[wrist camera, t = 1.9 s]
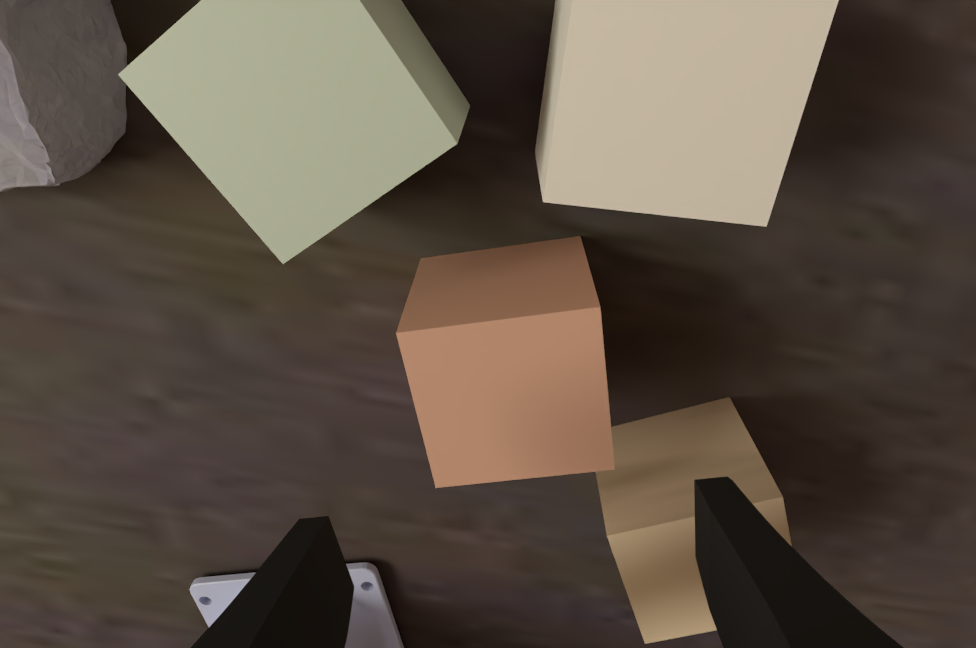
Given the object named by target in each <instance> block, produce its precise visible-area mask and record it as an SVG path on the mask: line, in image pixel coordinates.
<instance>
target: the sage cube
mask: <svg viewBox="0 0 976 648" xmlns="http://www.w3.org/2000/svg"><path fill="white" fill-rule="evenodd" d="M118 75H119V76H120V78H121V79H122V80H123V81H124V82H125V83H126V84H127V86H128V87H129V88H130V89H131V90H132V91H133V92H134V94H135V95H136V96H137V97H138V98H139V99H140V101H141V102H142V103H143V104H144V105H145V106H146V107H147V109H148V110H149V111H150V112H151V113H152V114H153V115H154V117H155V118H156V119H157V120H158V121H159V122H160V123H161V125H162V126H163V127H164V128H165V129H166V130H167V131H168V133H169V134H170V135H171V136H172V137H173V138H174V140H175V141H176V142H177V143H178V144H179V145H180V146H181V148H182V149H183V150H184V151H185V152H186V153H187V154H188V156H189V157H190V158H191V159H192V160H193V161H194V162H195V164H196V165H197V166H198V167H199V168H200V169H201V170H202V172H203V173H204V174H205V175H206V176H207V177H208V179H209V180H210V181H211V182H212V183H213V184H214V185H215V187H216V188H217V189H218V190H219V191H220V192H221V193H222V195H223V196H224V197H225V198H226V199H227V200H228V201H229V203H230V204H231V205H232V206H233V207H234V208H235V209H236V211H237V212H238V213H239V214H240V215H241V216H242V218H243V219H244V220H245V221H246V222H247V223H248V224H249V226H250V227H251V228H252V229H253V230H254V231H255V232H256V234H257V235H258V236H259V237H260V238H261V239H262V240H263V242H264V243H265V244H266V245H267V246H268V247H269V248H270V250H271V251H272V252H273V253H274V254H275V255H276V256H277V258H278V259H279V260H280V261H281V262H282V263H283V264H284V263H285V262H287V261H288V260H290V259H291V258H293V257H294V256H295V255H297V254H298V253H300V252H301V251H303V250H304V249H306V248H307V247H308V246H310V245H311V244H313V243H314V242H316V241H317V240H319V239H320V238H322V237H323V236H324V235H326V234H327V233H329V232H330V231H332V230H333V229H335V228H336V227H337V226H339V225H340V224H342V223H343V222H345V221H346V220H348V219H349V218H351V217H352V216H353V215H355V214H356V213H358V212H359V211H361V210H362V209H364V208H365V207H366V206H368V205H369V204H371V203H372V202H374V201H375V200H377V199H378V198H379V197H381V196H382V195H384V194H385V193H387V192H388V191H390V190H391V189H393V188H394V187H395V186H397V185H398V184H400V183H401V182H403V181H404V180H406V179H407V178H408V177H410V176H411V175H413V174H414V173H416V172H417V171H419V170H420V169H421V168H423V167H424V166H426V165H427V164H429V163H430V162H432V161H433V160H435V159H436V158H437V157H439V156H440V155H442V154H443V153H445V152H446V151H448V150H449V149H450V148H452V147H453V146H455V145H456V144H458V141H459V138H460V135H461V132H462V129H463V126H464V123H465V120H466V117H467V114H468V111H469V108H470V104H469V103H468V101H467V100H466V98H465V97H464V95H463V94H462V92H461V91H460V89H459V88H458V86H457V84H456V83H455V81H454V80H453V78H452V77H451V75H450V74H449V72H448V71H447V69H446V68H445V66H444V65H443V63H442V62H441V60H440V59H439V57H438V55H437V54H436V52H435V51H434V49H433V48H432V46H431V45H430V43H429V42H428V40H427V39H426V37H425V36H424V34H423V33H422V31H421V30H420V28H419V27H418V25H417V23H416V22H415V20H414V19H413V17H412V16H411V14H410V13H409V11H408V10H407V8H406V7H405V5H404V4H403V2H402V1H401V0H201V1H200V2H199V3H198V4H196V5H195V6H194V7H193V8H192V9H191V10H190V11H189V12H187V13H186V14H185V15H184V16H183V17H182V18H181V19H180V20H178V21H177V22H176V23H175V24H174V25H173V26H172V27H171V28H169V29H168V30H167V31H166V32H165V33H164V34H163V35H162V36H161V37H159V38H158V39H157V40H156V41H155V42H154V43H153V44H152V45H150V46H149V47H148V48H147V49H146V50H145V51H144V52H143V53H141V54H140V55H139V56H138V57H137V58H136V59H135V60H134V61H132V62H131V63H130V64H129V65H128V66H127V67H126V68H125V69H123V70H122V71H121V72H120V73H119V74H118Z"/></svg>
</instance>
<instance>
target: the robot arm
mask: <svg viewBox="0 0 976 648" xmlns="http://www.w3.org/2000/svg"><path fill="white" fill-rule="evenodd" d="M694 496H695V557H696V561H697V565H698V569H699V573H700V577H701V580H702V584H703V588H704V592H705V595H706V599H707V603H708V607H709V610H710V613H711V615H712V618H713V621H714V623H715V626H716V629H717V631H718V634H719V637H720V639H721V642H722V644H723V647H724V648H903V647H902V646H901V645H900V644H898V643H897V642H896V641H895V640H893V639H892V638H891V637H890V636H888V635H887V634H886V633H885V632H883V631H882V630H881V629H880V628H879V627H877V626H876V625H875V624H874V623H873V622H871V621H870V620H869V619H868V618H867V617H866V616H864V615H863V614H862V613H861V612H860V611H859V610H858V609H856V608H855V607H854V606H853V605H852V604H851V603H850V602H849V601H848V600H846V599H845V598H844V597H843V596H842V595H841V594H840V593H839V592H838V591H837V590H836V589H834V588H833V587H832V586H831V585H830V584H829V583H828V582H827V581H826V580H825V579H824V578H823V577H822V576H821V575H820V574H819V573H817V572H816V571H815V570H814V569H813V568H812V567H811V566H810V565H809V564H808V563H807V562H806V561H805V560H804V559H803V558H802V557H801V556H800V555H799V554H798V553H797V552H796V550H795V549H794V548H793V547H792V546H791V545H790V544H789V543H788V542H787V541H786V540H785V539H784V538H783V537H782V536H781V535H780V534H779V533H778V532H777V531H776V530H775V529H774V527H773V526H772V525H771V524H770V523H769V522H768V521H767V520H766V519H765V518H764V516H763V515H762V514H761V513H760V512H759V511H758V510H757V509H756V507H755V506H754V505H753V504H752V503H751V502H750V500H749V499H748V498H747V497H746V496H745V495H744V493H743V492H742V491H741V490H740V489H739V487H738V486H737V485H736V484H735V482H734V481H733V480H731V479H730V478H729V477H727V476H726V477H716V478H706V479H696V480H694ZM367 582H370V583H367ZM189 590H190V593H191V595H192V597H193V599H194V601H195V602H196V604H197V606H198V608H199V610H200V612H201V614H202V615H203V617H204V619H205V621H206V623H207V625H208V627H209V628H208V629H207V630H206V631H205V633H204V634H203V635H202V636H201V637H200V638H199V639H198V640H197V641H196V643H195V644H194V645H193V646H192V647H191V648H404V646H403V643H402V640H401V637H400V634H399V631H398V628H397V625H396V622H395V619H394V616H393V614H392V611H391V608H390V605H389V602H388V599H387V596H386V593H385V590H384V587H383V584H382V581H381V578H380V575H379V572H378V569H377V568H376V566H374V565H373V564H371V563H368V562H361V563H350V564H346V563H345V560H344V557H343V554H342V552H341V549H340V546H339V544H338V541H337V538H336V535H335V533H334V530H333V527H332V525H331V522H330V519H329V516H325V517H315V518H305V519H299V520H298V521H297V523H296V524H295V525H294V526H293V527H292V529H291V530H290V531H289V532H288V534H287V535H286V536H285V537H284V538H283V540H282V541H281V542H280V543H279V545H278V546H277V547H276V548H275V550H274V551H273V552H272V553H271V555H270V556H269V557H268V558H267V559H266V561H265V562H264V563H263V564H262V566H261V567H260V568H259V569H258V571H257V572H253V573H243V574H232V575H221V576H210V577H200V578H196V579H195V580H194V581H193V583H192V585H191V587H190V589H189Z"/></svg>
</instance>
